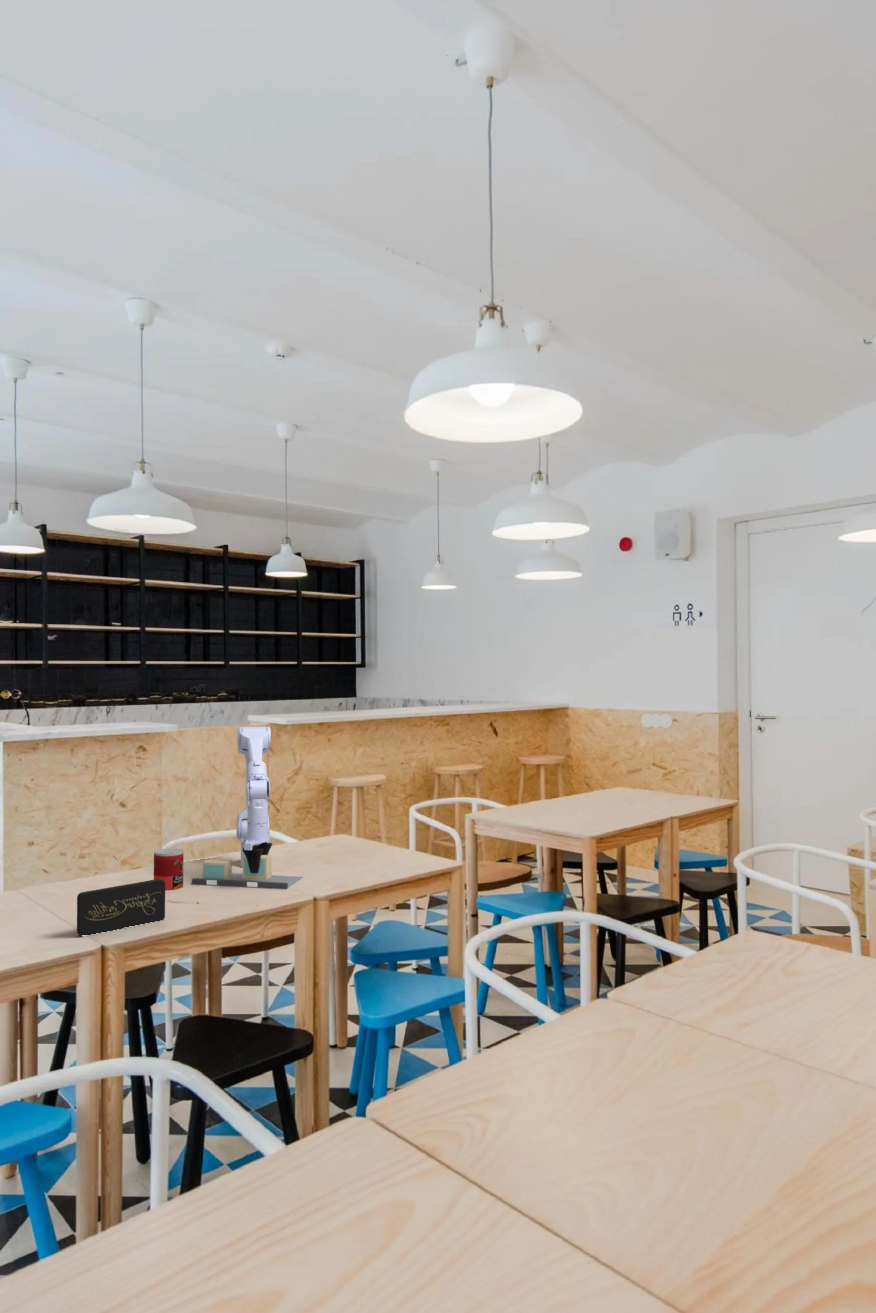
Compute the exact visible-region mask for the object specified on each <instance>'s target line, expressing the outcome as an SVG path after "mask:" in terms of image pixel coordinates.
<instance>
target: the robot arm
mask: <svg viewBox="0 0 876 1313" xmlns="http://www.w3.org/2000/svg"><path fill="white" fill-rule="evenodd" d="M271 733H272V730H271V727H270V726H269V725H266V726H238V728H237V751H238V753H239V754H242V755H243V756H244V759H245V775H246V776H245V808H244V809H242V810H241V811H240V812H238V814H237V815H236V838H237V840H240V868H242V869H243V857H244V856H246V858H247V861H248V865H249V869H250V873H258V871H259V866H260V859H261V855H269V852H270V850H271V848H272V846H273V843H272V842H270V841H271V833H270V827H271V826H270V815H269V800H270V797H271V782H270V779H269V777H268V769H267V764H266V763H265V762H264V761H263V754H265V753H268V752H269V751H270V750H269V749H270V746H271V741H272V740H271V739H272V738H271V736H272V735H271Z"/></svg>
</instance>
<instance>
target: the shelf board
mask: <svg viewBox="0 0 876 1313" xmlns="http://www.w3.org/2000/svg"><path fill="white" fill-rule="evenodd" d="M303 878H304V876H293V875H274V874H273V875H272V877H270V878H269V879H267V880H258V879H243V873H234V872H232V880H222V879H202V878H199V877H196V878H195V877H194V878H193V877H192V878H191V886H206V887H209V886H210V887H228V888H244V889H245V888H246V889H262V890H263V889H265V890H284V891H285V890H288V889H289V888H291V887H292V886H293V885H295V884H296V883H298V882H299V881H301V880H302V879H303Z"/></svg>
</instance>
